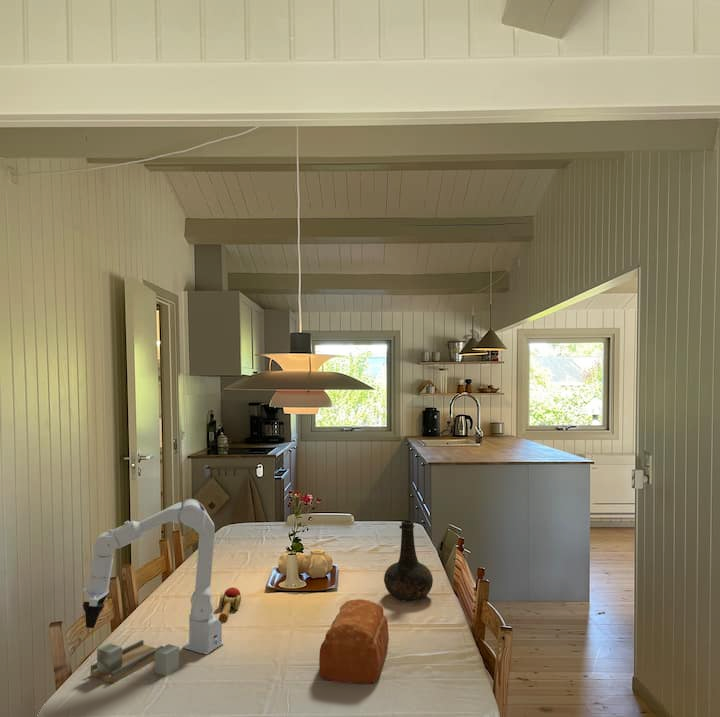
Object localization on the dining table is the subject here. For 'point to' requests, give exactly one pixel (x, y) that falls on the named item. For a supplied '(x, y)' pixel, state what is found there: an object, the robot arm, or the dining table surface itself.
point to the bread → (355, 644)
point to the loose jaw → (166, 660)
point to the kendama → (229, 602)
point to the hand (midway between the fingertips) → (92, 622)
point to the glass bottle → (408, 570)
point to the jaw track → (125, 661)
